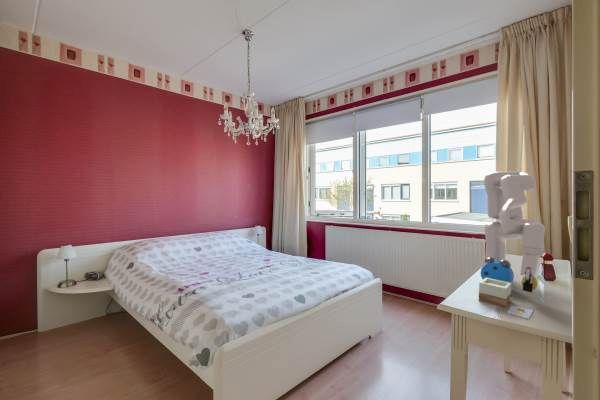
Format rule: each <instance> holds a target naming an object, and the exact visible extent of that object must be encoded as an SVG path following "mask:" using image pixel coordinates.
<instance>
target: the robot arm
mask: <svg viewBox="0 0 600 400" xmlns="http://www.w3.org/2000/svg"><path fill="white" fill-rule="evenodd" d="M483 179H484V180H483V185H484V190H485V191H486V192H485V193H486V195H487V200H486V201H487V216H488V217H489V218H490V219H491V220H499V221H490V222H487V223H485V225H484V235H485V236H484V237H485V256H484V257H485V258H484V260H485V259H486V258H489V257H492V258H494V259H495V261H497V260H498V261H501V260H506V259H507V246H506V244H505V243H504V241H503V240H519V239H521V248H520V253H521V254H522V257H521V258H522V260H521V267H520V275H521V276H523V275H524V276H523V277H524V282H523V286H522V290H523V291H524V292H528V293H532V292H533V290H532V288H533V284H532V280H533V277H535V278H536V276H537V273H538V270H539V265H540V263H539V262H540V257H541V256H544V245H545V236H546V235H545V233H546V232H545V231H546V226H545V225H544V224H543V223H539V222H538V221H536V220H533V219H524V218H523V209H522V207H523V206H524V205H525V204H526V203H527V202H528V201H527V200H528V199H527V196H526V193H525V192H531V191H534V189H535V188H536V184H537V183H536V180H535V178H534V176H533V175H531V174H529V173H525V172H522V171H492V172H489V173H486V175H485V176H484V178H483ZM496 259H497V260H496ZM488 263H489V262H488ZM485 264H487V263H485V262H484V265H485ZM530 275H532V276H530ZM529 278H531V279H529Z"/></svg>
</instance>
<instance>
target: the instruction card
mask: <svg viewBox="0 0 600 400" xmlns="http://www.w3.org/2000/svg"><path fill="white" fill-rule="evenodd" d="M533 312H534V310H531V309H527V308H524V307H520V306H515V305H511V306H510V308H509V309H508V310H507V312H506V313H507V314H508V315H513V316H517V317H520V318H522V319H527V320H529V319H530V317H531V316H532V314H533Z"/></svg>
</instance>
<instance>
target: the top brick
mask: <svg viewBox="0 0 600 400" xmlns="http://www.w3.org/2000/svg"><path fill="white" fill-rule="evenodd" d="M512 283H513V282H512ZM512 283H509V282H504V281H499V280H495V279H490V278H484V279H482V280H480V282H479V283H478V293H479V292H480V293H484V294H488V295H492V296H496V297H500V298H504V299H506V298H507V297H508V296H509V295H510V294H511V295H512Z"/></svg>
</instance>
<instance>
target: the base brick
mask: <svg viewBox="0 0 600 400" xmlns="http://www.w3.org/2000/svg"><path fill="white" fill-rule="evenodd" d="M511 300H512V293H511V294H510V295H509V296H508V297H507V298H506V299H504V298H500V297H496V296H492V295H488V294H484V293H480V292H479V291H478V302H482V303H485V304H489V305H493V306H496V307H500V308H504V309H506V308H507V306H509V304H510V303H511V302H512V301H511Z"/></svg>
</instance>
